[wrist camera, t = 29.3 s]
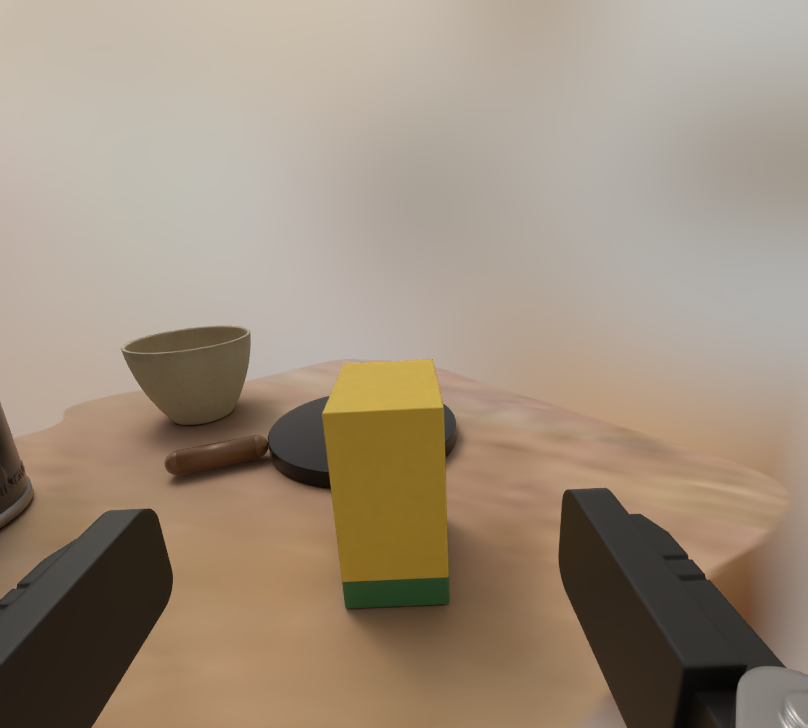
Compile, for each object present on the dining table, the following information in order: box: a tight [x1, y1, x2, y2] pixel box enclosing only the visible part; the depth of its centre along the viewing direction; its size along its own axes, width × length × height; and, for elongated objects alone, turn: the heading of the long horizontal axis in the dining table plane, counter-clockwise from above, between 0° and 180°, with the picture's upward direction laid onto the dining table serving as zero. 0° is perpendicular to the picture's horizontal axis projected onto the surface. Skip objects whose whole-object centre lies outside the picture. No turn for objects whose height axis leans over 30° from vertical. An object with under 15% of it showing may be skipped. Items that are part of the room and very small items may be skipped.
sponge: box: [322, 359, 449, 609], centre depth 20 cm, size 4×6×9 cm
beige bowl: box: [121, 326, 250, 425], centre depth 39 cm, size 10×10×7 cm
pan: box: [165, 396, 456, 488], centre depth 32 cm, size 21×14×2 cm
